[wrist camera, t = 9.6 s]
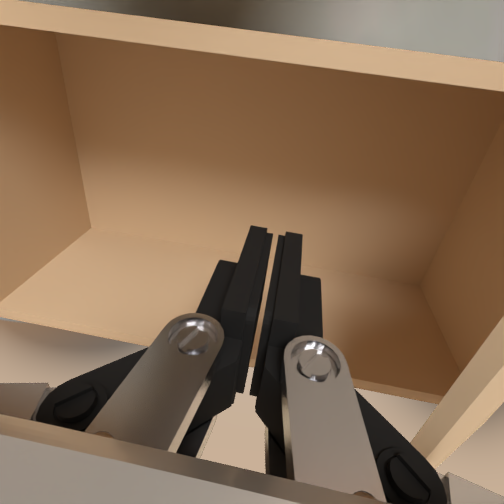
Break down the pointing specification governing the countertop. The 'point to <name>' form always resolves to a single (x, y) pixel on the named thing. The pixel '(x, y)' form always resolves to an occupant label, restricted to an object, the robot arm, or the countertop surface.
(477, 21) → the countertop surface
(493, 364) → the flap
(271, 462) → the robot arm
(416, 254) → the carton
